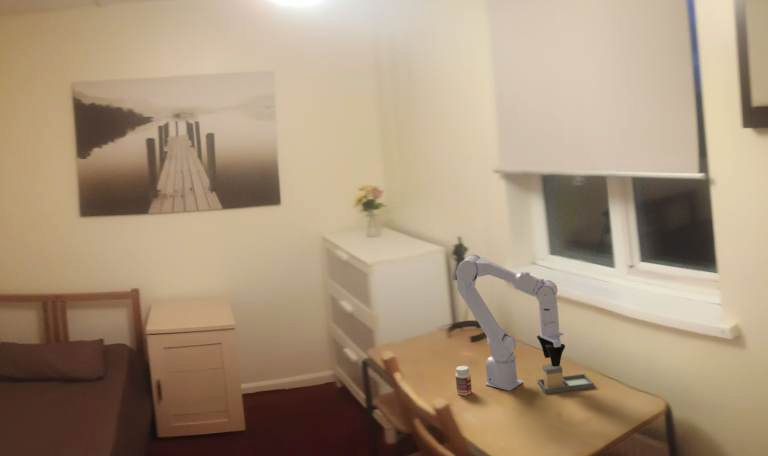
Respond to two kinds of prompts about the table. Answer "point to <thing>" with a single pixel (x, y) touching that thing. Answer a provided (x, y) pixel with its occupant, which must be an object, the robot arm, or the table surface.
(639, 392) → the table surface
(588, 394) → the table surface
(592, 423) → the table surface
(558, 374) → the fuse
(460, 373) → the pill bottle
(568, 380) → the gray divided rectangular frame
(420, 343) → the table surface
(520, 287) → the robot arm
